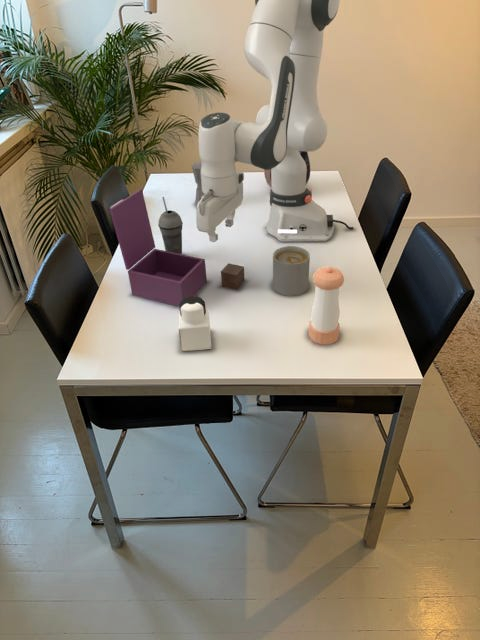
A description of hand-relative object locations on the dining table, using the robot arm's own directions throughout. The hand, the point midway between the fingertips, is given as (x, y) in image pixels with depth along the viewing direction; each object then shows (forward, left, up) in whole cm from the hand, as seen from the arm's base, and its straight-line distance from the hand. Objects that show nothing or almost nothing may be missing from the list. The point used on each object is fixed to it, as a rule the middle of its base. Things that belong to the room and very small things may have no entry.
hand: (221, 233), depth 134 cm
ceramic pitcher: (-3, -70, -16) cm, 72 cm away
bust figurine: (0, +27, -16) cm, 31 cm away
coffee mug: (-18, -4, -16) cm, 25 cm away
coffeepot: (+22, -51, -16) cm, 58 cm away
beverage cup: (+20, -11, -16) cm, 28 cm away
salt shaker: (-30, +18, -16) cm, 39 cm away
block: (-2, 0, -16) cm, 16 cm away
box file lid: (+23, +4, +1) cm, 24 cm away
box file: (+15, +6, -16) cm, 22 cm away
